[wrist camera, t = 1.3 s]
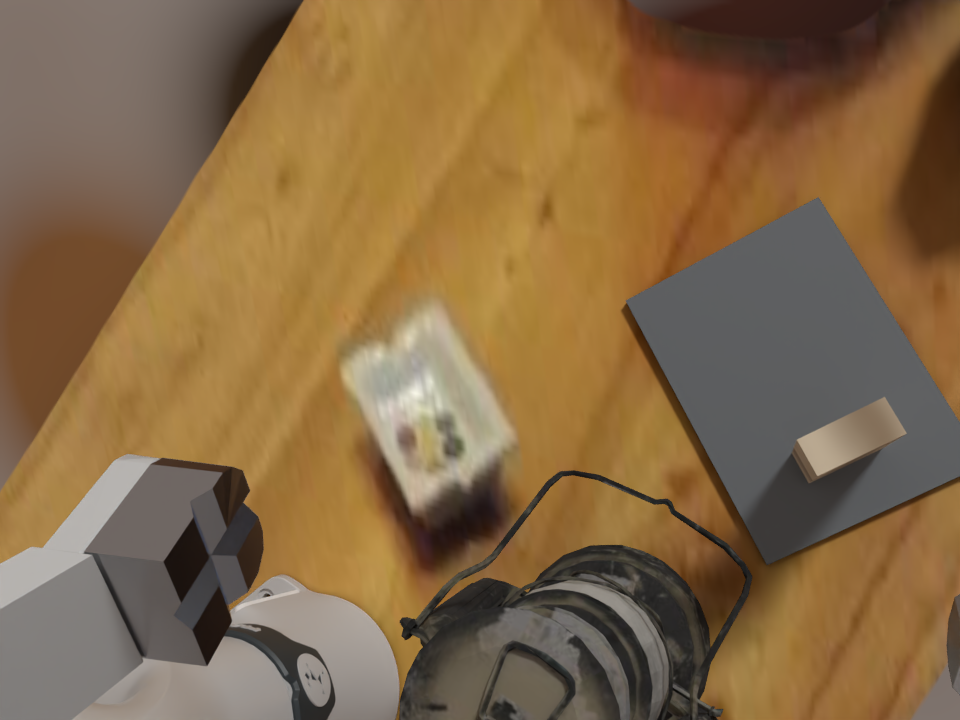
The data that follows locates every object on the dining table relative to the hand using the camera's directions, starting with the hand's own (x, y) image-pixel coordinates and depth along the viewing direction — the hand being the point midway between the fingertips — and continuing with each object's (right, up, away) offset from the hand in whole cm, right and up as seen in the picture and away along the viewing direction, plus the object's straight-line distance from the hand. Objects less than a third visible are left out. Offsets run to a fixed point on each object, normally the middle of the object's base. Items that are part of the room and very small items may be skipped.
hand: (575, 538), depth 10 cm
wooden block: (+24, -4, +54) cm, 60 cm away
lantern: (+10, -17, +57) cm, 61 cm away
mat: (+22, +1, +56) cm, 61 cm away
